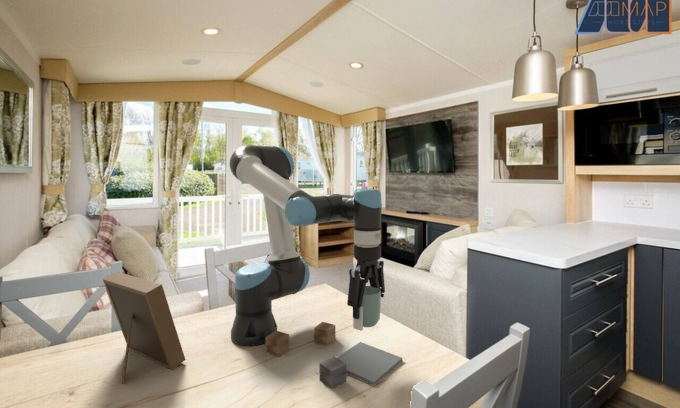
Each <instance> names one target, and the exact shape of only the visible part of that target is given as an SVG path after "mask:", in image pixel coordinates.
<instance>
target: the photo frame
mask: <svg viewBox="0 0 680 408" xmlns="http://www.w3.org/2000/svg"><path fill="white" fill-rule="evenodd" d="M102 281H103V284H104V287H105V289H106V292H107V295H108V297H109V301H110V303H111V306H112V308H113V312H114V314H115V316H116V319H117V321H118V325H119V327H120V330H121V333H122V335H123V338H124V341H125V343H126V346H125V347H126V348H125V355H124V362H123V369H122V377H121V385H124V383H125V380H126V379H125V378H126V372H127V366H128V365H127V363H128V359H129V351H130V352H133V353H135V354H137V355H139V356H141V357H143V358H145V359H148V360H149V361H151V362H154V363H156V364H158V365H160V366H162V367H164V368H166V369H168V370H170V371H173V370H175V369H176V368H177V367H178V366H180V365H181V364H182V363H183V362H184V361H186V357H185V353H184V351H183V347H182V344H181V341H180V338H179V334H178V331H177V328H176V326H175V322H174V319H173V316H172V312H171V310H170V309H171V308H170V306H169V303H168V299H167V297H166V294H165V289H164V287H163V284H161V283H159V282H155V281H151V280H147V279H144V278H140V277H137V276H134V275H130V274H127V273H123V272H120V271H117V272H115V273H113V274H111V275H108V276H106V277H103V278H102Z"/></svg>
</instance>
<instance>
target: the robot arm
mask: <svg viewBox="0 0 680 408" xmlns="http://www.w3.org/2000/svg"><path fill="white" fill-rule="evenodd" d="M229 169H230V172H231V173H232V175H233V176H234V178H235V179H237V180H238V181H240V182H241V183H243V184H246V185H247V184H249V185H250V186H252V188H254V189H255V190H257V191H258V192H259V193H261V194H262V195H263V202H264V208H265V216H266V225H267V231H268V239H269V246H270V253H271V255H270V256H269V258H268V259H267V262H256V263H255V262H254V263H249V264H246V265H243V266H242V267H240V268H239V269H238V270H237V271H236V272H235V275H234V283H233V286H234V292H235V293H234V298H235V300H234V301H235V302H234V303H235V316H234V320H233V322H232V328H231V329H230V339H231V341H232V342H233V343H234V344H237V345H239V346H248V347H249V346H258V345H263V344H266V337H267V336H268V335H270V334H272V333H273V332H275V331H278V325H277V322H276V318H275V316H274V314H273V310H272V306H273V305H272V301H274V300H279V299H281V298H283V297H287V296H291V295H295V294H297V293H300V292H302V291H303V290H305V289H306V287H307V286H308V284H309V282H310V274H311V273H310V268H309V266H308V264H307V262H306V261H305V260H304V259H302V258H301V254H300V253H299V252H297V251H296V246H295V239H294V230H293V226H294V227H307V226H310V225H317V224H323V223H332V222H337V221H338V222H339V221H342V222H343V221H344V222H347V221H348V222H352V223H353V243H354V246H353V258H354V259H355V260H356V267H355V268H354V269H353V268H350V269H349V271H348V272H349V284H348V294H347V303H346V304H347V306H349V307H351V308H352V322H353V325H352V327H353V329H355V330H358V331H360V332H362V331H364V327H363V307H362V306H361V304H362V299H363V295H364V291H365V286H367V284H368V283H369V286H371V287H374V288H379V289H380V291H381V298H384V297H385V294H384V293H386V287H385V277H384V276H385V275H384V265H385V263H384V260H380V259H381V258H382V246H381V245H380V244H381V243H382V224H381V223H382V207H383V204H382V193H381V190H380V189H378V188H377V189H376V188H357V189H355V190H354V192H353V195H350V194H340V193H331V194H327V195H319V196H317V195H316V196H314V195H311V194H309V193H307V192H305V191H304V190H303V189H301V188H300V187H298V186H297V185H295V184H293V183H292V182H291V181H290V177H292V176H293V174H294V169H295V162H294V159H293V155H292V154H291V153H290V152H289V151H288V149H286V148H284V147H280V146H279V147H278V146H275V145H271V146H268V145H267V146H265V145H254V144H253V145H249V144H248V145H243V146H240V147H238V148H237V149H236V150H235V151H234V152H233V153H232V154H231V156H230V159H229ZM357 302H358V303H357ZM380 320H381V316H380V317H379V321H380Z"/></svg>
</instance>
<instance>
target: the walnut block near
mask: <svg viewBox="0 0 680 408" xmlns="http://www.w3.org/2000/svg"><path fill="white" fill-rule="evenodd" d="M289 350H290V334H289V333H286V332H282V331H279V330H277V331H275V332H273V333H272V334H270V335H268V336H267V337H266V343H265V354H269V355H271V356H275V357H279V358H280V356H283V355H284V354H285V353H286V352H288V351H289Z"/></svg>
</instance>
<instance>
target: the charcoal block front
mask: <svg viewBox="0 0 680 408" xmlns="http://www.w3.org/2000/svg"><path fill="white" fill-rule="evenodd" d="M319 381H320V382H321V383H322V384H324V385H325V387H327V388H329V389H330V390H334V389H335V388H337V387H339V386H341V385H343V384H345V383H347V373H346V363H344V362H343V361H341V360H339V359H338V358H336V356H331V357H330V358H329V357H328V358H327V359H324V360H322V361H320V362H319Z"/></svg>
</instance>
